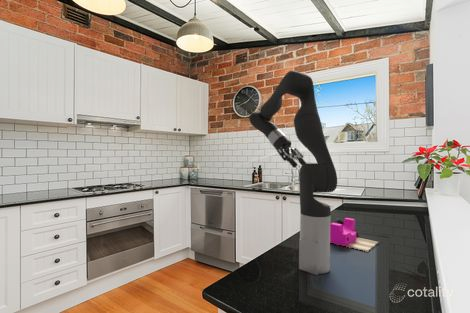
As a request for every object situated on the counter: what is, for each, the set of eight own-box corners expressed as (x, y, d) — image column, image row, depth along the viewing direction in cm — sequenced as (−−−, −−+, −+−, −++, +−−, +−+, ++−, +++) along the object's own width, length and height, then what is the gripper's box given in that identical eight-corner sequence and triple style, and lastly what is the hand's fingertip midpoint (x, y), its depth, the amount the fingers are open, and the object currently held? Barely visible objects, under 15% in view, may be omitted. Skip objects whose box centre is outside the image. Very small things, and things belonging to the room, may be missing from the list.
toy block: (345, 246, 105) (345, 227, 105) (330, 242, 109) (330, 223, 109) (360, 238, 115) (361, 220, 115) (346, 234, 120) (346, 217, 120)
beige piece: (367, 252, 100) (367, 218, 100) (307, 238, 116) (308, 208, 116) (378, 243, 111) (378, 212, 110) (321, 231, 127) (322, 204, 127)
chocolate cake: (366, 237, 120) (350, 214, 128) (360, 236, 115) (343, 212, 123) (348, 248, 124) (333, 226, 131) (342, 248, 119) (327, 224, 127)
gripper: (275, 134, 121) (298, 160, 114) (292, 135, 132) (314, 160, 124) (265, 146, 125) (287, 172, 117) (282, 146, 135) (303, 171, 128)
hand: (300, 166), depth 121 cm, fingers open, 8 cm apart
